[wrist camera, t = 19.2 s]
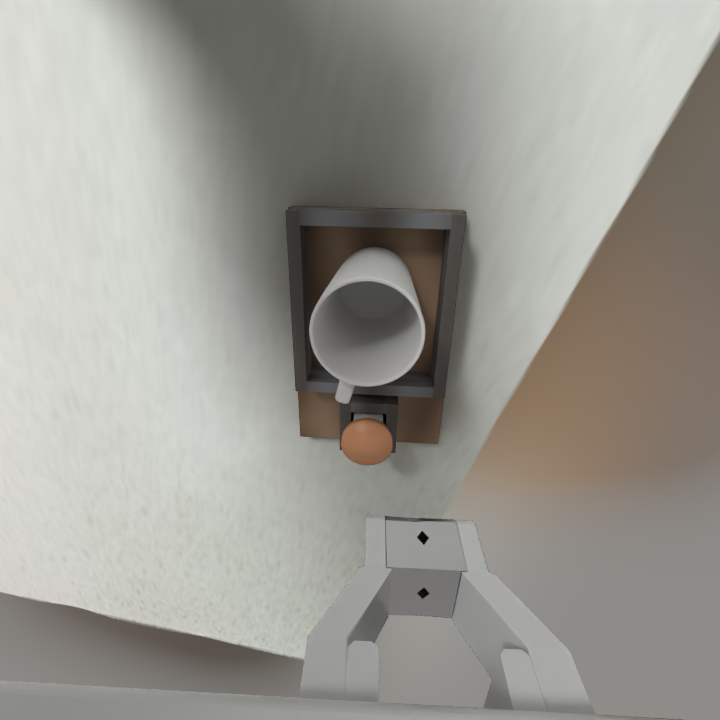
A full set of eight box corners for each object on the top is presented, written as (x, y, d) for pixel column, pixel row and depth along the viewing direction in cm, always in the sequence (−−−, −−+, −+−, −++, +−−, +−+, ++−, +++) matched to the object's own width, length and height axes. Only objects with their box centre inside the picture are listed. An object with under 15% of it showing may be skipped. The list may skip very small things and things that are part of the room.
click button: (346, 432, 40) (341, 463, 36) (346, 393, 38) (341, 421, 34) (391, 434, 40) (391, 466, 35) (393, 395, 38) (393, 424, 33)
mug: (348, 230, 32) (327, 259, 22) (426, 258, 33) (444, 300, 22) (315, 340, 37) (283, 409, 26) (384, 363, 37) (382, 441, 26)
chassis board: (303, 427, 43) (294, 454, 39) (292, 206, 33) (278, 210, 29) (436, 435, 42) (441, 463, 38) (463, 210, 33) (473, 215, 29)
